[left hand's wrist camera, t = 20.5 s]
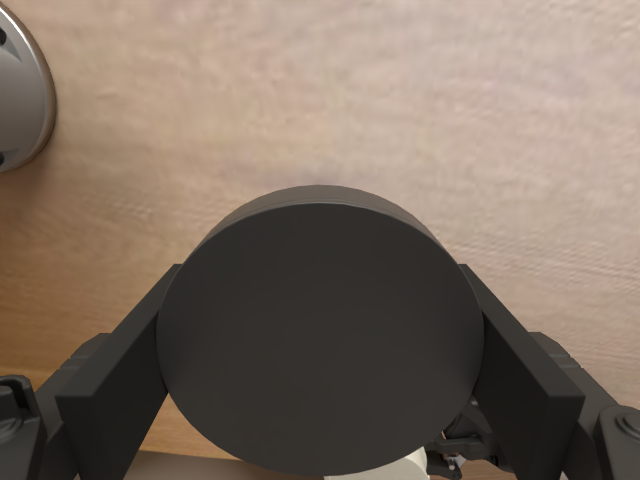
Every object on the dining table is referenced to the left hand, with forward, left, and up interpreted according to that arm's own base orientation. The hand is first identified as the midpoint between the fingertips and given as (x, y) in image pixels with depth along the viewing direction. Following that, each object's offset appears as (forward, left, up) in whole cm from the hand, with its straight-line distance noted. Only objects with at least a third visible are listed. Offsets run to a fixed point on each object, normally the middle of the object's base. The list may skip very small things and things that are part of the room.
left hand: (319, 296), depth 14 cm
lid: (0, 0, +3) cm, 3 cm away
